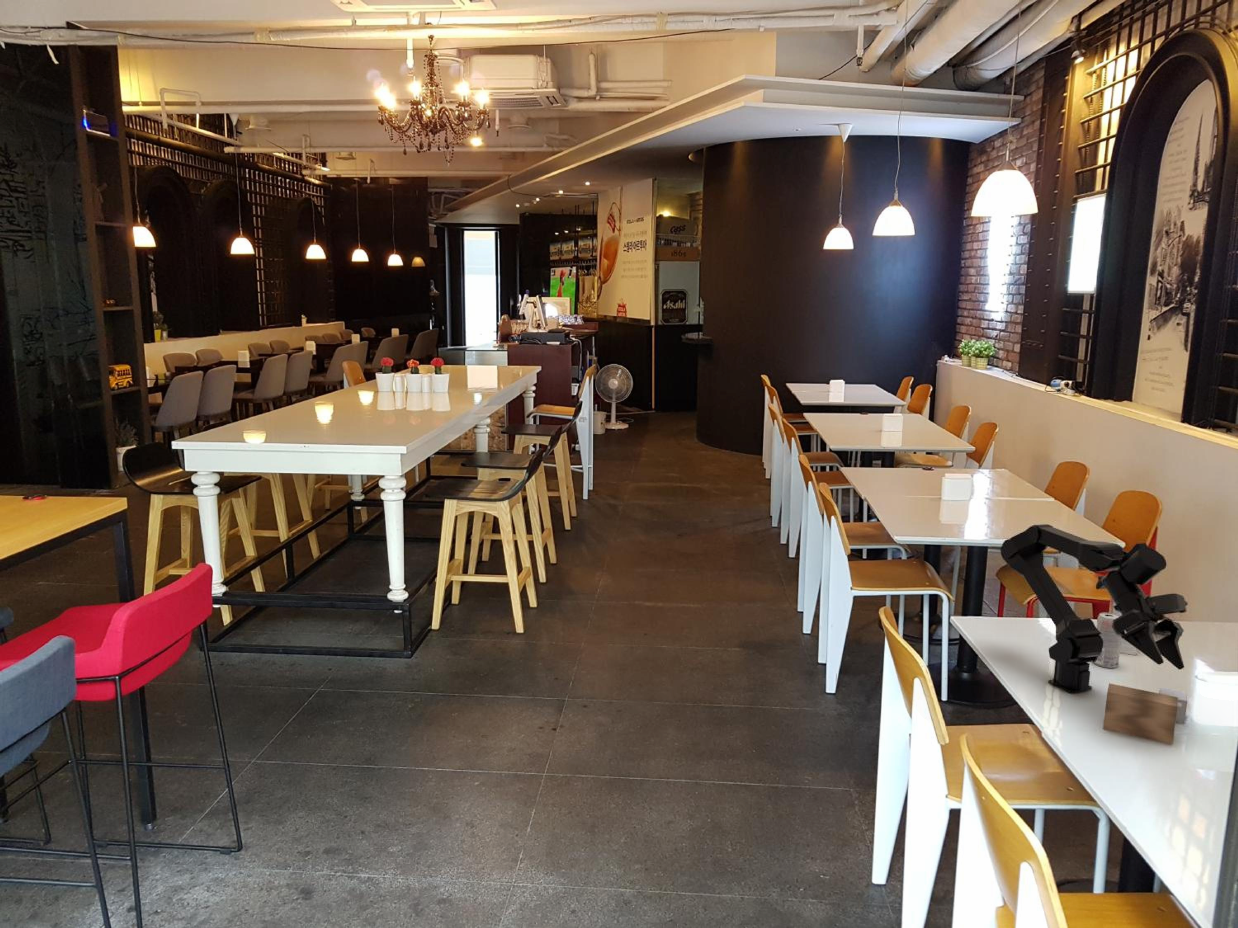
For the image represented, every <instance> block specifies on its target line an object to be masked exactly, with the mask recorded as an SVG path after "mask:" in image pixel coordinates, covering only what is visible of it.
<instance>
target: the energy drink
mask: <svg viewBox="0 0 1238 928" xmlns="http://www.w3.org/2000/svg"><path fill="white" fill-rule="evenodd" d="M1118 617H1120V615H1117V614H1114V613H1109V612H1100V613H1099V615H1098V617H1097V623H1096V628H1097V629H1098V630H1099V631H1100V632H1101V634H1099V635H1100V636H1101V637H1102V639H1103V649H1102V652H1101V653H1100V655H1099V656H1098V658H1097V660H1096V662H1093V663H1094V664H1095V665H1096V666H1098V667H1101V668H1105V669H1116V668H1117V667H1118V666H1119V663H1120V657H1121V656H1120V654H1121V653H1120V647H1121V639H1122V638H1121V636H1120V635H1116V633H1115V631H1114V630H1113V628H1112V623H1113V620H1114V619H1116V618H1118Z"/></svg>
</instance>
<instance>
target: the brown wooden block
mask: <svg viewBox="0 0 1238 928" xmlns="http://www.w3.org/2000/svg"><path fill="white" fill-rule="evenodd" d="M1177 707H1178V697H1174V696H1169V695H1164V694H1159V692H1153V691H1149V690H1143V689H1140V688H1133V687H1128V686H1124V685H1119V684H1114V683H1110V682H1109V683H1108V687H1107V692H1106V700H1105V708H1104V717H1103V726H1102V729H1103V730H1106V731H1110V732H1114V733H1119V734H1124V735H1128V736H1134V737H1137V738H1141V739H1145V740H1150V741H1154V742H1159V743H1164V744H1168V745H1172V746H1173V744H1174V736H1175V730H1176V729H1175V728H1176V723H1177V722H1176V715H1177Z"/></svg>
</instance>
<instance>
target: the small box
mask: <svg viewBox="0 0 1238 928" xmlns="http://www.w3.org/2000/svg"><path fill="white" fill-rule="evenodd" d="M1115 605H1116V604H1115V602H1114V601H1113V599H1112V597H1111V596H1110V600H1109V610H1108V613H1114V614H1117V615H1120V616H1122V614H1121V612H1118V611H1116V610H1115V608H1114V607H1113V606H1115ZM1124 631H1125V634H1126V633H1127V632H1126V630H1124ZM1137 653H1138V649H1137V648H1135V647H1134V646H1133V645H1131V644H1130V643H1129V642H1127V641H1126V640H1124V639H1121V647H1120V654H1125V655H1130V656H1131V655H1132V656H1136V655H1137Z"/></svg>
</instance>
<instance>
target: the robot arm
mask: <svg viewBox="0 0 1238 928" xmlns="http://www.w3.org/2000/svg"><path fill="white" fill-rule="evenodd" d="M1048 548H1050V549H1054V550H1055V551H1058V552H1061V553H1063V554H1065V555H1068V556H1071V557H1073V558H1075V559H1076V560H1077V562H1078V563H1079V565H1081V566H1082V567H1083V568H1085V569H1087V570H1088V571H1090V572H1093V573H1098V572H1108V573H1107V574H1105V575H1102V576H1101V575H1100V576H1097V577H1098V578H1097V582H1096V585H1095V588H1096V590H1106V591H1107V593H1108V594H1109V596H1110V598H1111V597H1112V599H1113V601H1114V602H1115V604H1116V605H1115V606H1113V607H1114V608H1115V610H1116V611H1118V612H1121V614H1122V616H1120V617H1118V618H1116V619H1114V620H1113V623H1112V628H1113V630H1114V631H1115V633H1116V635H1120V636H1121V638H1122V639H1124V640H1126V641H1127V642H1129V643H1130V644H1131V645H1133V646H1134V647H1135V648H1137V651H1139V652H1141V653H1142V654H1144V655H1145V656H1147V657H1148V658H1149V659H1150V660H1152V662H1154V663H1156V665H1159V666H1160V665H1162V664H1164V658H1165V659H1166V660H1167V661H1168V662H1169V663H1170V664H1172V666H1174V667H1175V668H1177V669H1178V670H1183V669H1184V668H1185V664H1184V661H1183V657H1182V654H1181V650H1180V649H1181V648H1180V647H1179V646H1180V645H1179V641H1180V638H1181V637H1182V636H1183V633H1184V632H1185V630H1184V628H1183V627H1182V626H1181V623H1180V622H1177V621H1173V620H1170V619H1166V615H1171V614H1177V613H1180V614H1183V613H1184V614H1185V613H1187V606H1188V605H1189V604H1188V601H1186V599H1185V597H1184V596H1183V595H1182V594H1178V593H1173V592H1172V593H1167V594H1160V595H1155V596H1150V595H1147V594H1145V592H1144V591H1143V589H1142V588H1141V586H1144V585H1146V584H1148V583H1149V582H1150V581H1151V580H1153V579H1154V578H1156V577H1157V576H1158V575H1159V574H1160V573H1162V571H1163V570H1165V569H1166V567H1167V561H1166V559H1165V556H1163V554H1161V553H1160V552H1159V551H1157V550H1156V549H1155V548H1152V547H1150V546H1148V545H1147V543H1146V542H1137V543H1136V544H1134V546H1133V547H1132V548H1131V549H1130V550H1129V551H1126V550H1124V549H1123V547H1122V546H1121V545H1120V544H1118V543H1114V542H1109V541H1098V540H1088V539H1086V538H1084V537H1080V536H1077V535H1074V534H1072V533H1070V532H1067V531H1065V530H1061V529H1059V528H1056V527H1054V526H1053V525H1051V524H1048V523H1047V524H1045V523H1044V524H1033V525H1031V526H1029V527H1028V528H1027V529H1026V530H1023V531H1022V532H1020V533H1017V534H1015V535H1014V536H1012V537H1010V538H1007V539H1005V540H1004V541H1003V542H1002V544H1001V547H1000V555H1001V559H1003V561H1004V562H1005V563H1006V564H1007V566H1009V568H1010V569H1012V570H1013V571H1015V572H1016V573H1019V575H1021V576H1023V578H1024V579H1025V580H1026V582H1027V583H1028V585H1029V587H1030V588H1031V590H1032V592H1033V593H1034V594H1035V596H1036V597H1037V599H1038V600H1039V602H1040V603H1041V606H1042V607H1043V609H1044V610H1045V612H1046V613H1047V615H1048V616H1049V618H1050V620H1051V621H1052V622H1053V624H1054V625H1055V640H1056V643H1054V644H1053V645H1051V646H1050V647H1048V653H1049V659H1051V660H1053V661H1055V662H1054V670H1053V679H1048V680H1047V681H1048V684H1050V685H1052V686H1056V687H1057V688H1059V689H1062V690H1063V691H1066V692H1068V693H1071V694H1076V693H1080V692H1085V691H1089V690H1092V689H1093V686H1092V685H1090V679H1091V671H1090V663H1091V662H1092V663H1094V662H1096V660H1097V658H1098V656H1099V655H1100V653H1101V652H1102V649H1103V639H1102V637H1101V636H1100V635H1099V634H1101V632H1100V631H1099V630H1098V629H1097V626H1096V624H1095V623H1094V621H1093V620H1092V619H1091V618H1081V617H1079V616H1078V615H1077V614H1076V613H1075V611H1074V609H1073V608H1072V607H1071V605H1070V604H1069V602H1068V601H1067V599H1066V598H1065V596H1064V595H1063V593H1062V592H1061V589H1059V587H1058V585H1057V584H1056V583H1055V581H1054V580H1053V578H1052V577H1051V575H1050V574H1049V572H1048V571H1047V569H1046V567H1045V566H1044V560H1045V557H1044V556H1045V554H1044V553H1043V552H1044V551H1046V550H1047V549H1048ZM1158 621H1159V622H1158ZM1124 630H1126V632H1127V633H1126V634H1125V631H1124Z"/></svg>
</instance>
